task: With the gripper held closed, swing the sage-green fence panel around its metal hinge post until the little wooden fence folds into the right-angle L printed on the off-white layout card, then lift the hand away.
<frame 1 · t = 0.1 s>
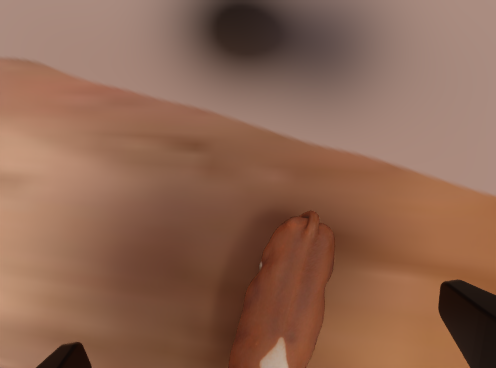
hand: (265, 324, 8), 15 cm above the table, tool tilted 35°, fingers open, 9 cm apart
bull figurine: (268, 313, 23), on the table
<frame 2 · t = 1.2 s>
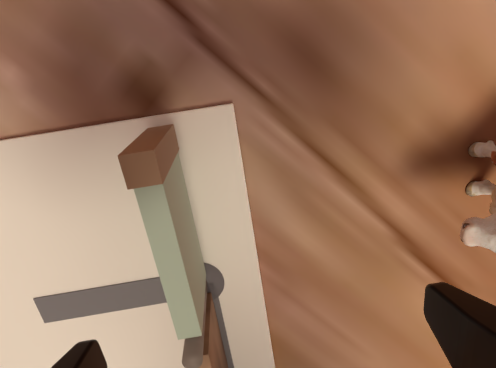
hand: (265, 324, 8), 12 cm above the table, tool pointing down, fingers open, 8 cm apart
layout card: (110, 294, 22), on the table
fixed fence: (199, 283, 22), resting on layout card
swing panel: (174, 230, 17), point 3 cm above the table, hinge at 0.0°
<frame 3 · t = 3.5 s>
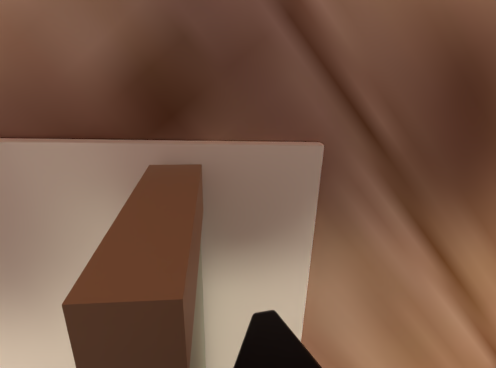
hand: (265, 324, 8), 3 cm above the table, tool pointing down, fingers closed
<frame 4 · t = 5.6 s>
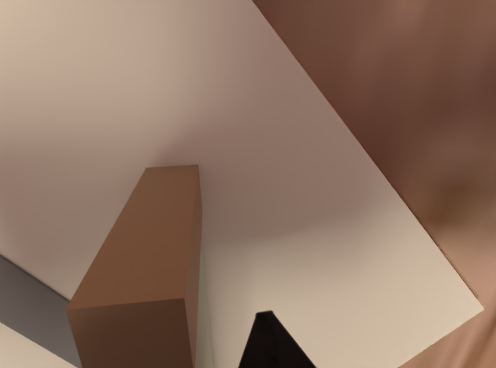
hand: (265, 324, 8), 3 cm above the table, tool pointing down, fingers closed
layout card: (82, 327, 11), on the table
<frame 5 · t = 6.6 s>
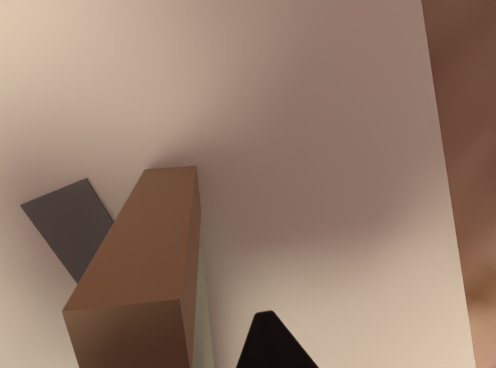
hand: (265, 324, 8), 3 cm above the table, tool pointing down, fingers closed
layout card: (134, 298, 11), on the table
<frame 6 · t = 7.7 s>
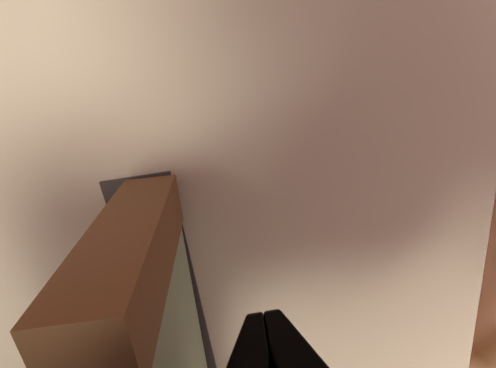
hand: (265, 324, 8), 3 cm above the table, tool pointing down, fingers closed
layout card: (171, 293, 11), on the table
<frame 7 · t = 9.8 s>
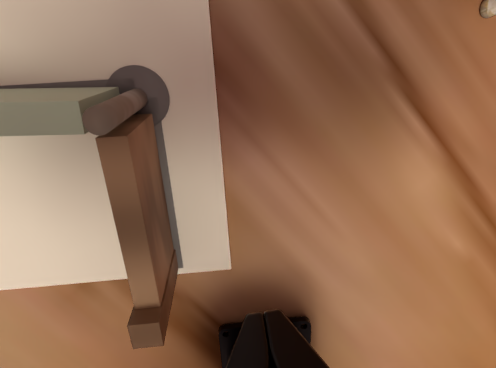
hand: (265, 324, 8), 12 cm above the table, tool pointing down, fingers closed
layout card: (21, 104, 17), on the table
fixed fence: (137, 98, 17), resting on layout card
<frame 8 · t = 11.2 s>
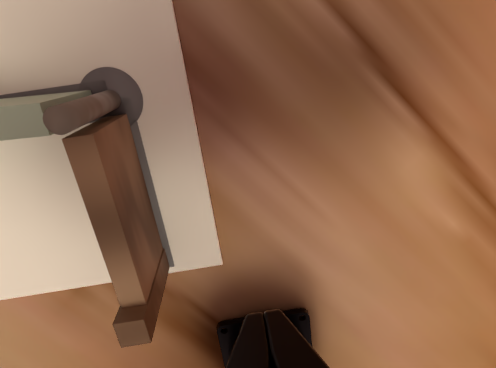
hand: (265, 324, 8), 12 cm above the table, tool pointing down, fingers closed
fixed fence: (111, 99, 17), resting on layout card
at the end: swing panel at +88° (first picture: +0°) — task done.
